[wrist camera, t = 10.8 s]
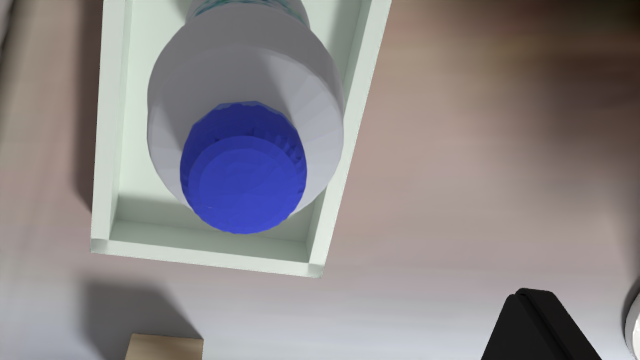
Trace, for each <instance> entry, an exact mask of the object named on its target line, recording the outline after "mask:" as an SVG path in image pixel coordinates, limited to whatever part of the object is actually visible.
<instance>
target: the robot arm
mask: <svg viewBox="0 0 640 360" xmlns="http://www.w3.org/2000/svg"><path fill="white" fill-rule="evenodd" d="M625 339H626V344H627V346H628V349H629V351H630V353H631V354H632V355H633V357H634V358H635V359H636V360H640V293H639V294H638V296H637V297H636V299H635V301H634V302H633V304H632V306H631V308H630V311H629V313H628V316H627V319H626V326H625ZM481 360H602V359H601V358H600V356H599V355H598V354H597V352H596V351H595V349H594V348H593V347H592V345H591V344H590V343H589V341H588V340H587V338H586V337H585V336H584V334H583V333H582V331H581V330H580V329H579V327H578V326H577V325H576V323H575V322H574V320H573V319H572V318H571V316H570V315H569V313H568V312H567V311H566V309H565V308H564V307H563V305H562V304H561V302H560V301H559V300H558V298H557V297H556V296H555V295H554V294H553V293H552V292H550V291H544V290H536V289H528V288H521V289H519V290H518V291H517V292H516V293H515V294H512V295H509V296H508V297H507V299H506V301H505V303H504V306H503V308H502V310H501V313H500V315H499V318H498V320H497V322H496V325H495V327H494V330H493V332H492V334H491V337H490V339H489V342H488V344H487V346H486V349H485V351H484V354H483V356H482V358H481Z"/></svg>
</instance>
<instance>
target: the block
mask: <svg viewBox="0 0 640 360" xmlns="http://www.w3.org/2000/svg"><path fill="white" fill-rule="evenodd" d="M203 342H204V339H193V338H181V337H169V336H158V335H146V334H134V333H132V335H131V339H130V342H129V346H128V350H127V354H126V358H125V360H202V352H203Z"/></svg>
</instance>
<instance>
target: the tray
mask: <svg viewBox="0 0 640 360" xmlns="http://www.w3.org/2000/svg"><path fill="white" fill-rule="evenodd" d="M301 1H302V3H303V5H304V7H305V10H306V13H307V16H308V19H309V23H310V29H311V31H312V32H313V33H314V34H315V35H316V36H317V37H318V38H319V40H320V41H321V42H322V44H323V45H324V47H325V48H326V50H327V51H328V53H329V54H330V56H331V57H332V59H333V61H334V63H335V65H336V67H337V69H338V71H339V74H340V78H341V81H342V85H343V93H344V114H343V123H344V144H343V150H342V154H341V159H340V161H339V164H338V166H337V169H336V171H335V174H334V175H333V177H332V178H331V180H330V182H329V183H328V185H327V186H326V188H325V189H324V190H323V191H322V192H321V193H320V194H319V195H318V196H317V197H316V198H315V199H314V200H313V201H312V202H311V203H310V204H308V205H307V206H305V207H304V208H303V209H301V210H300V211H298V212H296V213H294V214H292V215H290V216H288V218H287V219H285V220H283V221H282V222H281V223H280V224H279V225H277V226H275V227H273V228H271V229H269V230H266V231H262V232H259V233H252V234H233V233H230V232H225V231H221V230H219V229H217V228H214V227H212V226H210V225H209V224H207V223H206V222H204V221H202V219H201V218H200V217H199V216H198V215H197V214H195V212H194V211H193V210H192V209H190V208H189V207H187V206H186V205H184V204H183V203H181V202H180V201H179V200H178V199H177V198H176V197H175V196H174V195H173V194H172V193H171V192H170V191H169V190H168V189H167V188H166V186H165V185H164V183H163V182H162V180H161V179H160V177H159V176H158V174H157V173H156V170H155V168H154V166H153V163H152V161H151V158H150V155H149V150H148V144H147V115H148V109H147V89H148V83H149V79H150V76H151V73H152V70H153V67H154V64H155V62H156V60H157V58H158V56H159V54H160V53H161V51H162V50H163V48H164V47H165V46H166V44H167V43H168V42H169V41H170V40H171V38H172V37H173V36H174V35H175V34H176V32H177V31H178V30H179V29H180V28H181V27H182V26H184V25H185V20H186V16H187V13H188V9H189V7H190V5H191V3H192V0H104V3H103V21H102V40H101V58H100V77H99V96H98V114H97V133H96V152H95V170H94V189H93V207H92V226H91V245H90V252H92V253H101V254H110V255H119V256H128V257H137V258H146V259H154V260H163V261H172V262H181V263H190V264H199V265H208V266H217V267H226V268H235V269H244V270H253V271H261V272H270V273H279V274H288V275H297V276H306V277H315V278H321V277H322V273H323V269H324V265H325V261H326V257H327V253H328V249H329V245H330V241H331V237H332V233H333V229H334V225H335V222H336V218H337V214H338V210H339V206H340V202H341V198H342V194H343V190H344V186H345V182H346V178H347V174H348V170H349V166H350V162H351V159H352V155H353V151H354V147H355V143H356V139H357V135H358V131H359V127H360V123H361V119H362V115H363V111H364V107H365V103H366V99H367V96H368V92H369V88H370V84H371V80H372V76H373V72H374V68H375V64H376V60H377V56H378V52H379V48H380V44H381V40H382V37H383V33H384V29H385V25H386V21H387V17H388V13H389V9H390V5H391V1H392V0H301Z"/></svg>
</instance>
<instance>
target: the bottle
mask: <svg viewBox="0 0 640 360" xmlns="http://www.w3.org/2000/svg"><path fill="white" fill-rule="evenodd" d="M147 109H148V115H147V144H148V150H149V155H150V158H151V161H152V163H153V166H154V168H155V170H156V173H157V174H158V176H159V177H160V179H161V180H162V182H163V183H164V185H165V186H166V188H167V189H168V190H169V191H170V192H171V193H172V194H173V195H174V196H175V197H176V198H177V199H178V200H179V201H180V202H181V203H183V204H184V205H186V206H187V207H189V208H190V209H192V210H193V211H194V212H195V214H197V215H198V216H199V217H200V218H201V219H202V221H204V222H206V223H207V224H209V225H210V226H212V227H214V228H217V229H219V230H221V231H225V232H230V233H233V234H252V233H259V232H262V231H266V230H269V229H271V228H273V227H275V226H277V225H279V224H280V223H281V222H282V221H283V220H285V219H287V218H288V216H290V215H292V214H294V213H296V212H298V211H300V210H301V209H303V208H304V207H305V206H307V205H308V204H310V203H311V202H312V201H313V200H314V199H315V198H316V197H317V196H318V195H319V194H320V193H321V192H322V191H323V190H324V189H325V188H326V186H327V185H328V183H329V182H330V180H331V178H332V177H333V175H334V174H335V171H336V169H337V166H338V164H339V161H340V159H341V154H342V150H343V144H344V123H343V114H344V93H343V85H342V81H341V78H340V74H339V71H338V69H337V67H336V65H335V63H334V61H333V59H332V57H331V56H330V54H329V53H328V51H327V50H326V48H325V47H324V45H323V44H322V42H321V41H320V40H319V38H318V37H317V36H316V35H315V34H314V33H313V32H312V31H311V29H310V23H309V19H308V16H307V13H306V10H305V7H304V5H303V3H302V1H301V0H192V3H191V5H190V7H189V9H188V13H187V16H186V20H185V25H184V26H182V27H181V28H180V29H179V30H178V31H177V32H176V34H175V35H174V36H173V37H172V38H171V40H170V41H169V42H168V43H167V44H166V46H165V47H164V48H163V50H162V51H161V53H160V54H159V56H158V58H157V60H156V62H155V64H154V67H153V70H152V73H151V76H150V79H149V83H148V89H147Z"/></svg>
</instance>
